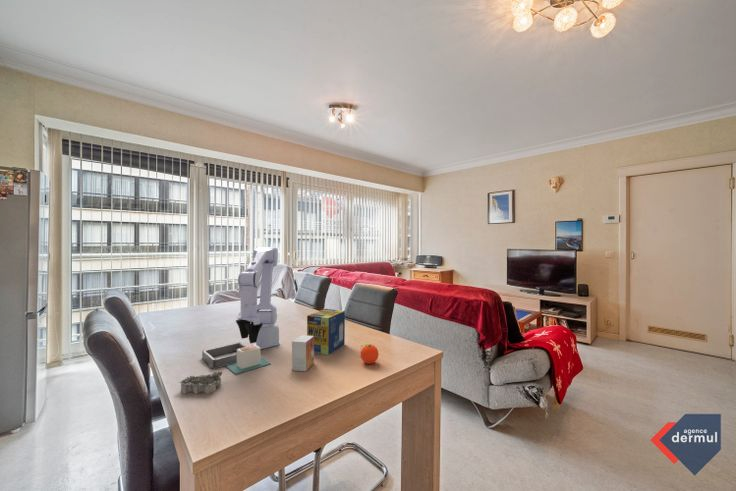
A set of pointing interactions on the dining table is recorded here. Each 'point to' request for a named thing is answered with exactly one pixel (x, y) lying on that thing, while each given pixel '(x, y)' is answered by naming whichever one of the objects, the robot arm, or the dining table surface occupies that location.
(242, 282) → the robot arm
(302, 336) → the small box
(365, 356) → the clementine
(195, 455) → the dining table surface
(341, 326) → the protein box
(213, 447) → the dining table surface
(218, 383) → the egg carton
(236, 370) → the mat
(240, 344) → the bin
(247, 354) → the box
